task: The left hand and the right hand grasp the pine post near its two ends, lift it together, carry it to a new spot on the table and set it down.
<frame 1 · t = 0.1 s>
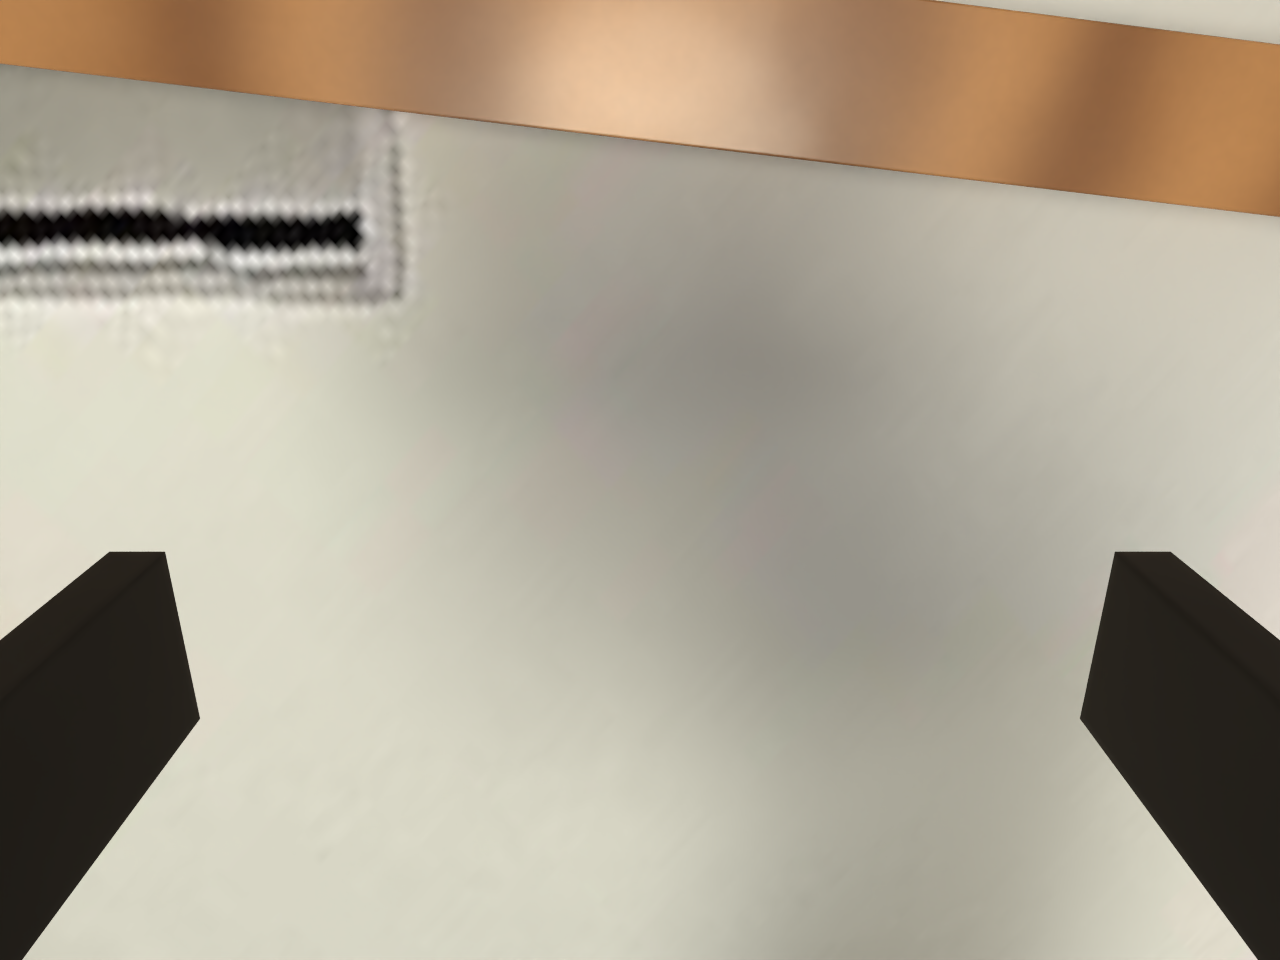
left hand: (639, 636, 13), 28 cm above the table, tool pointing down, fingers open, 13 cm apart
post: (511, 52, 36), on the table
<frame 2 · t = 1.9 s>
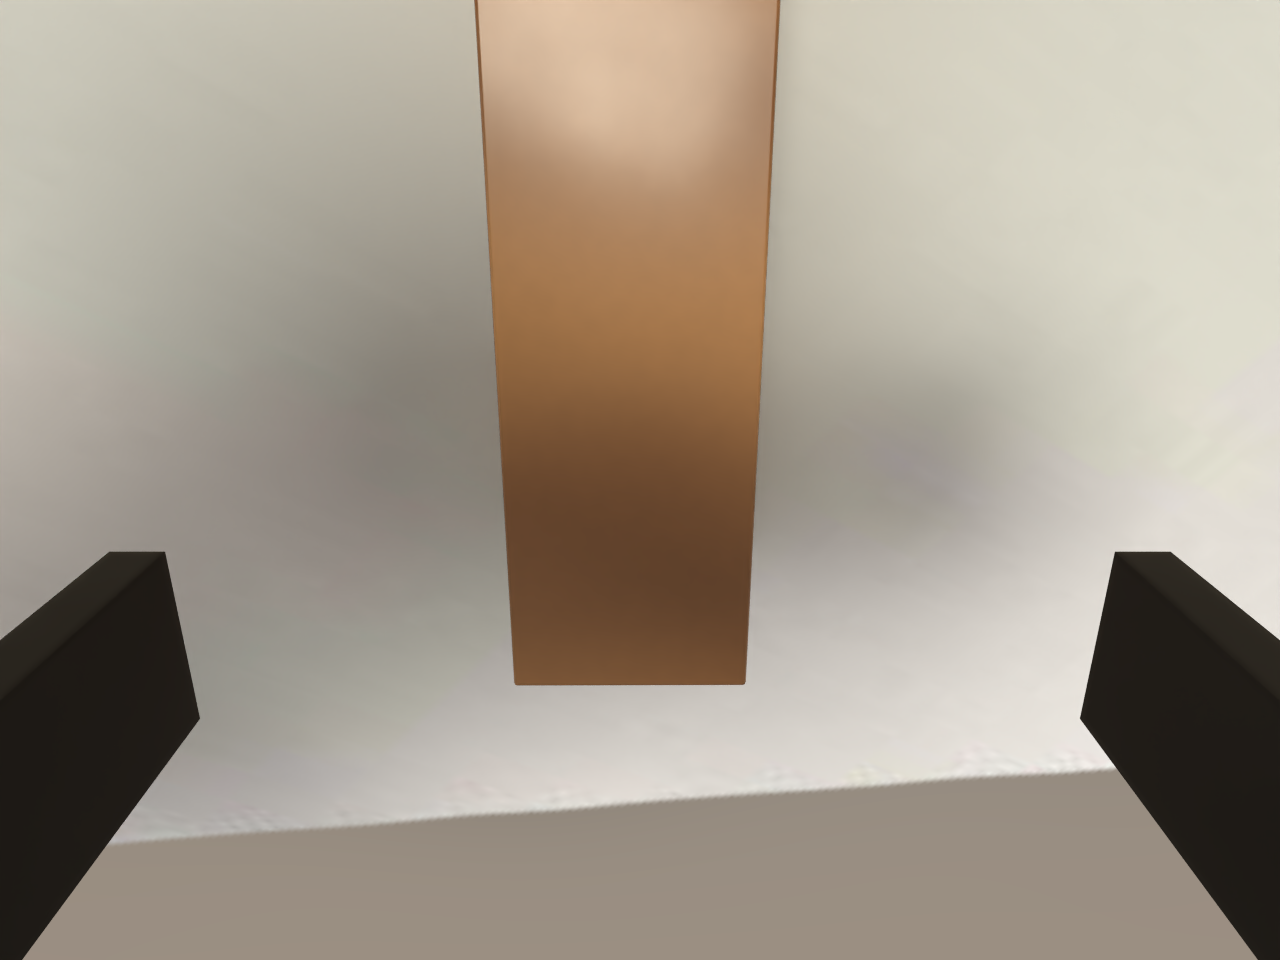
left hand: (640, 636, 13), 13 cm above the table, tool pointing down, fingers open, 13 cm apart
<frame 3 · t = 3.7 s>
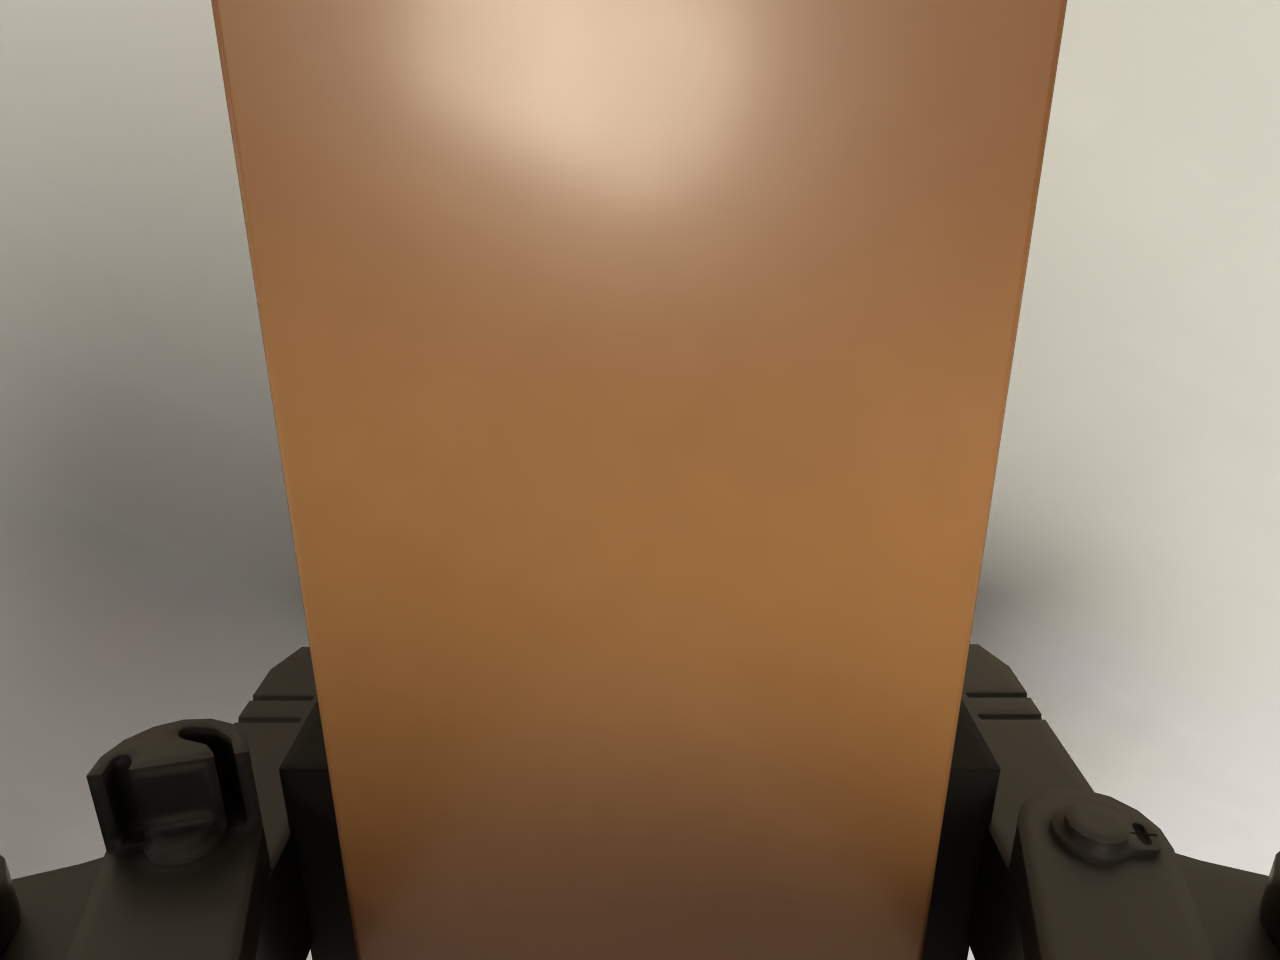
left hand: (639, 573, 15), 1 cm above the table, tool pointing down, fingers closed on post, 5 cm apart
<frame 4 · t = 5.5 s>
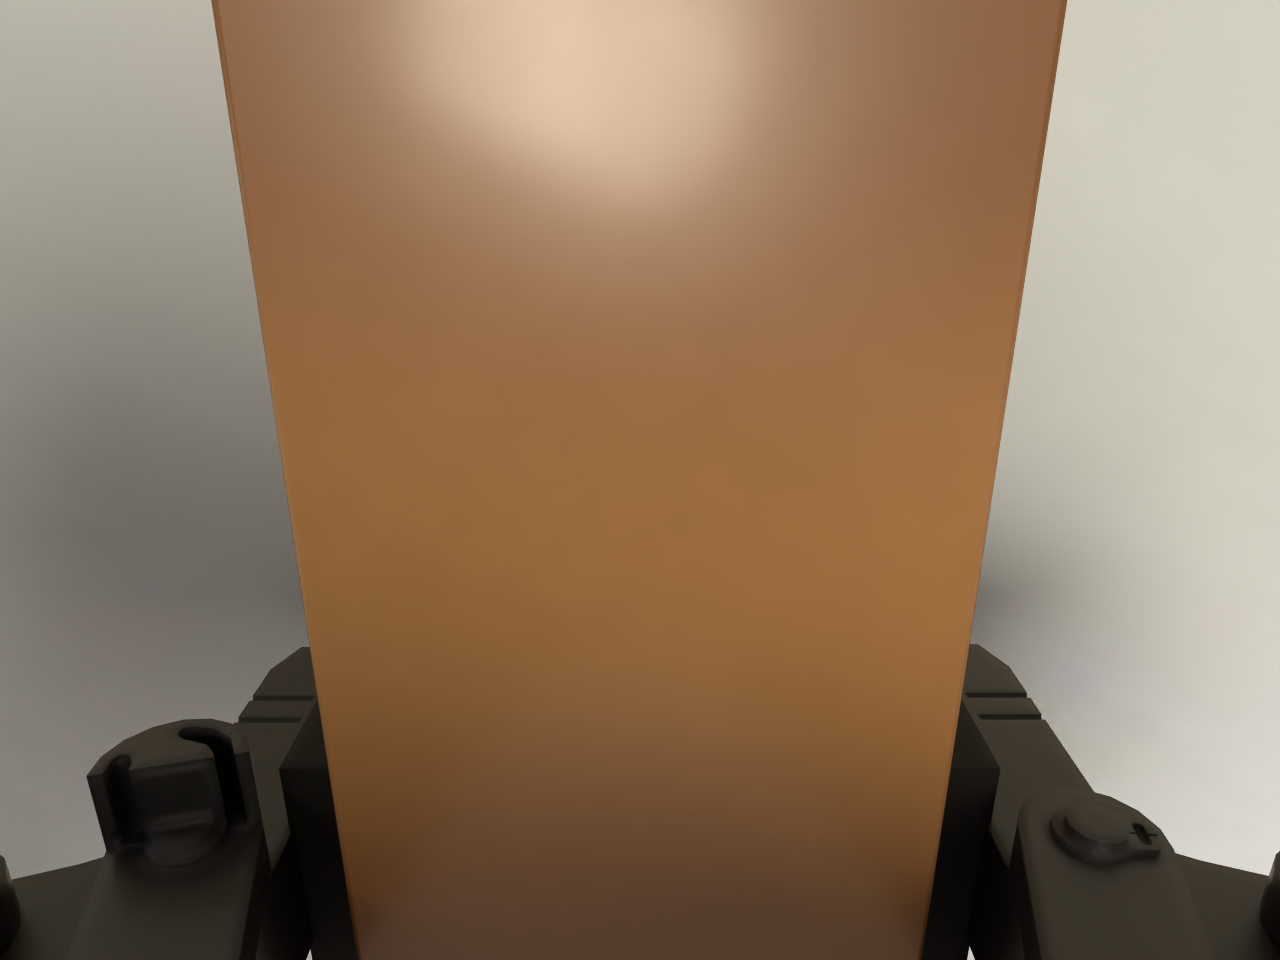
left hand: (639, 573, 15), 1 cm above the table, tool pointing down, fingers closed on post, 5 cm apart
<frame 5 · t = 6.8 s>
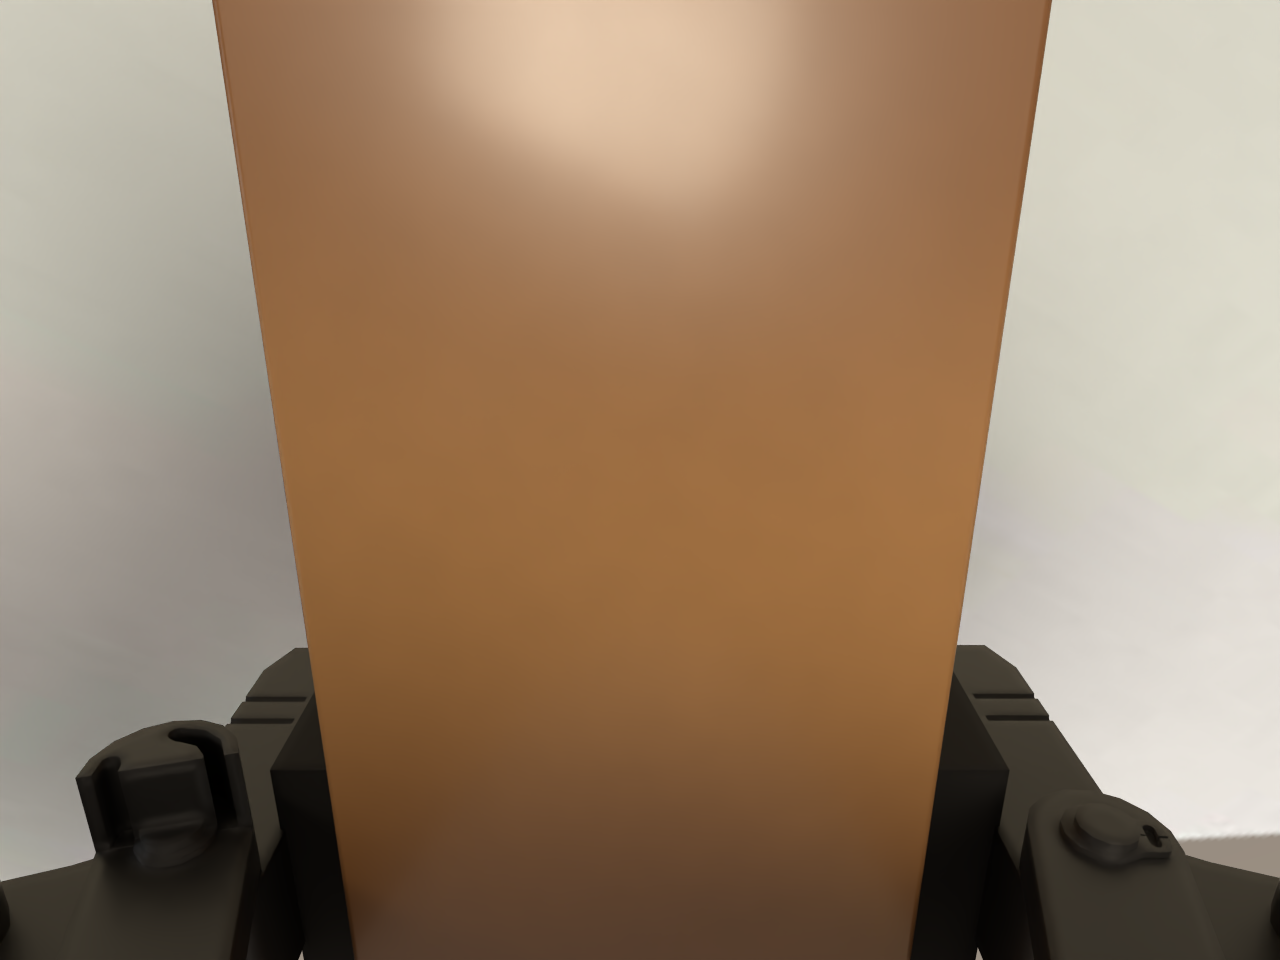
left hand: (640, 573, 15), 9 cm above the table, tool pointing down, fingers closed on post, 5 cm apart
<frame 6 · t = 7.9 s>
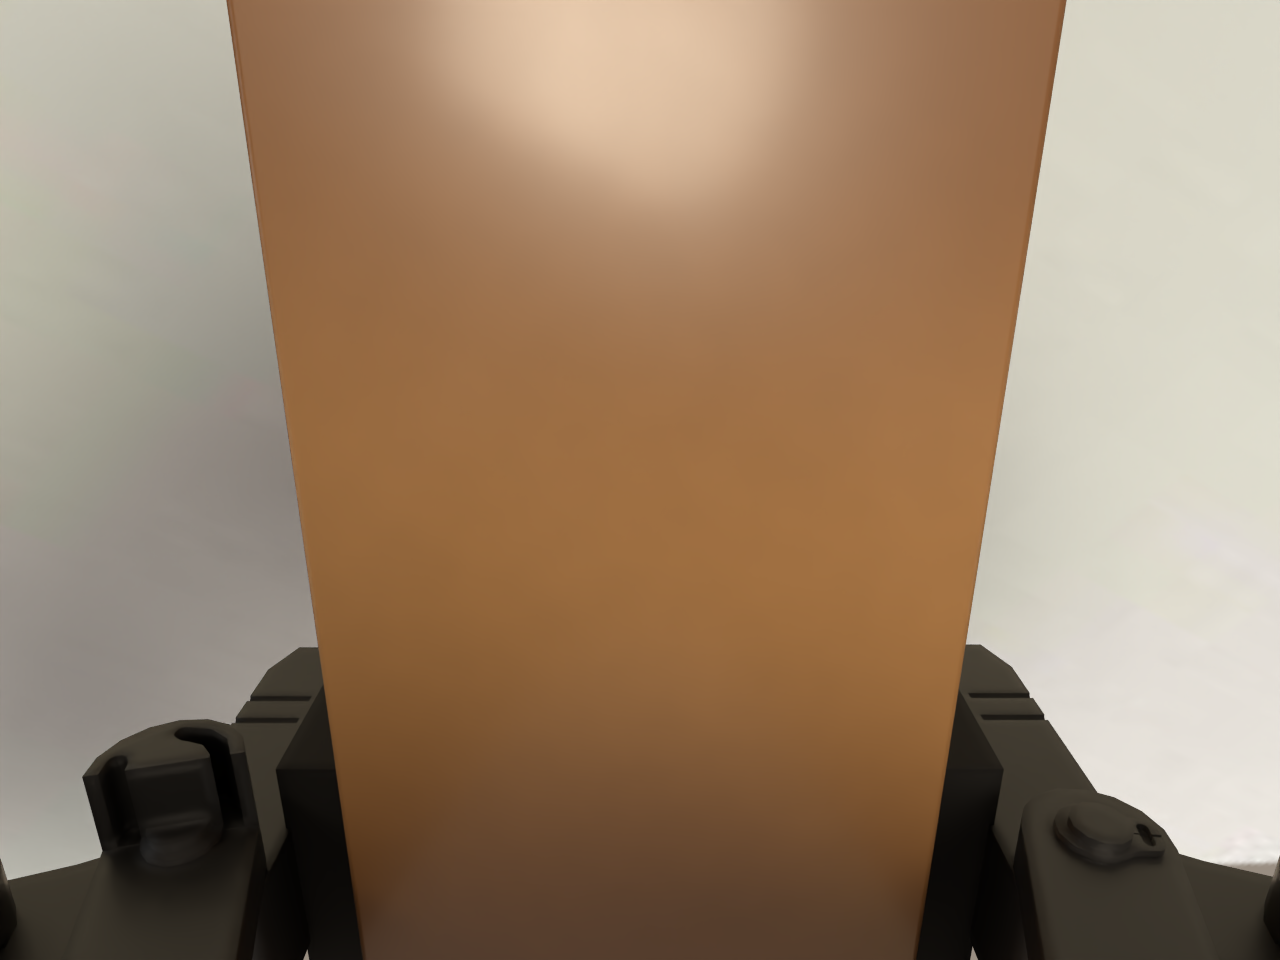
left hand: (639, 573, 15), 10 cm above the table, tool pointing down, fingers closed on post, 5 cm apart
when the left hand's fingers open (2 cm above the table, at t = 10.4 s): post drops 1 cm, on the table.
when the right hand's fingers open (4 cm above the table, at t = 10.6 s): post stays where it is, on the table.
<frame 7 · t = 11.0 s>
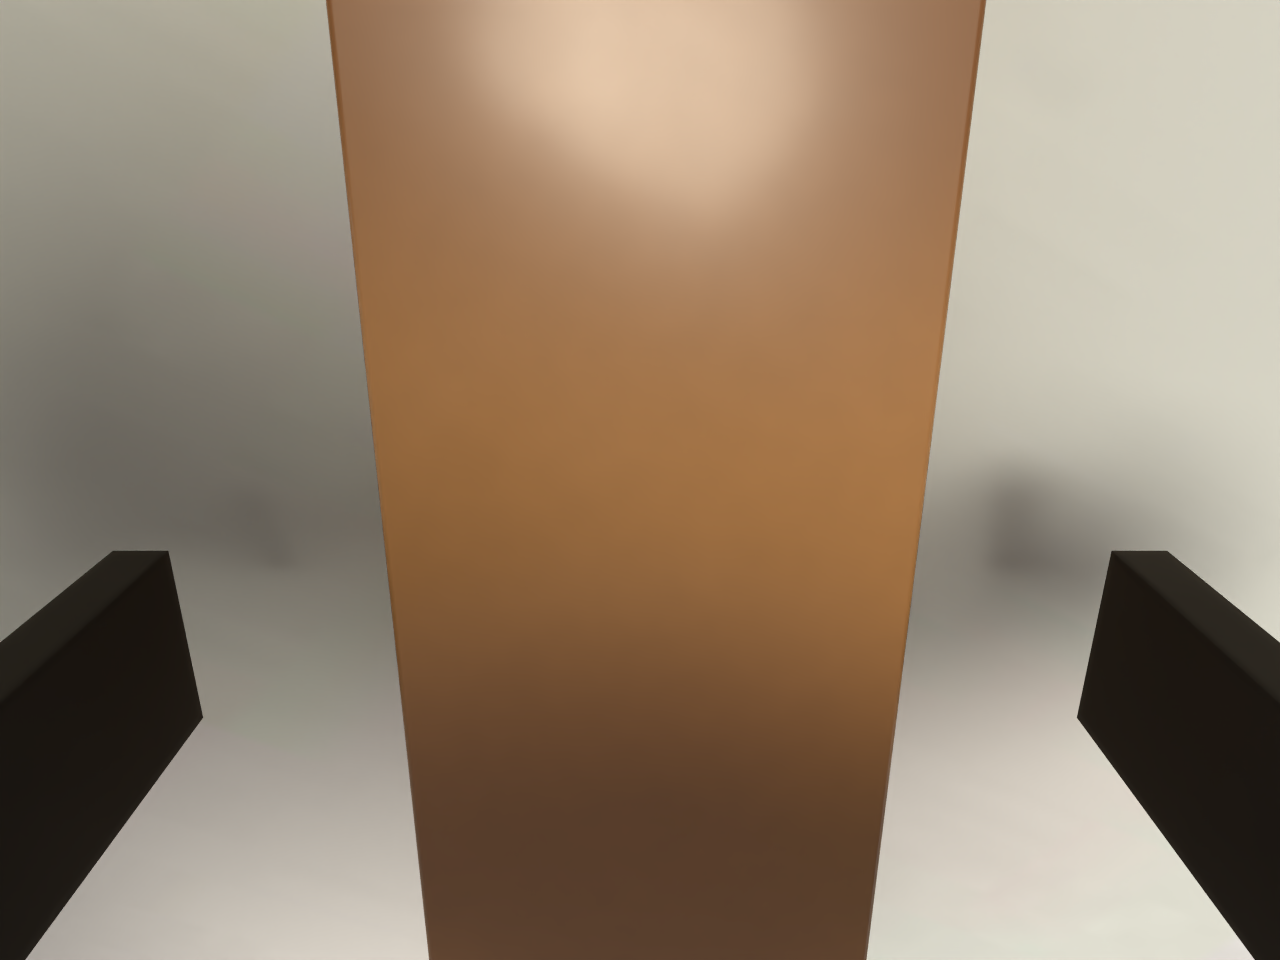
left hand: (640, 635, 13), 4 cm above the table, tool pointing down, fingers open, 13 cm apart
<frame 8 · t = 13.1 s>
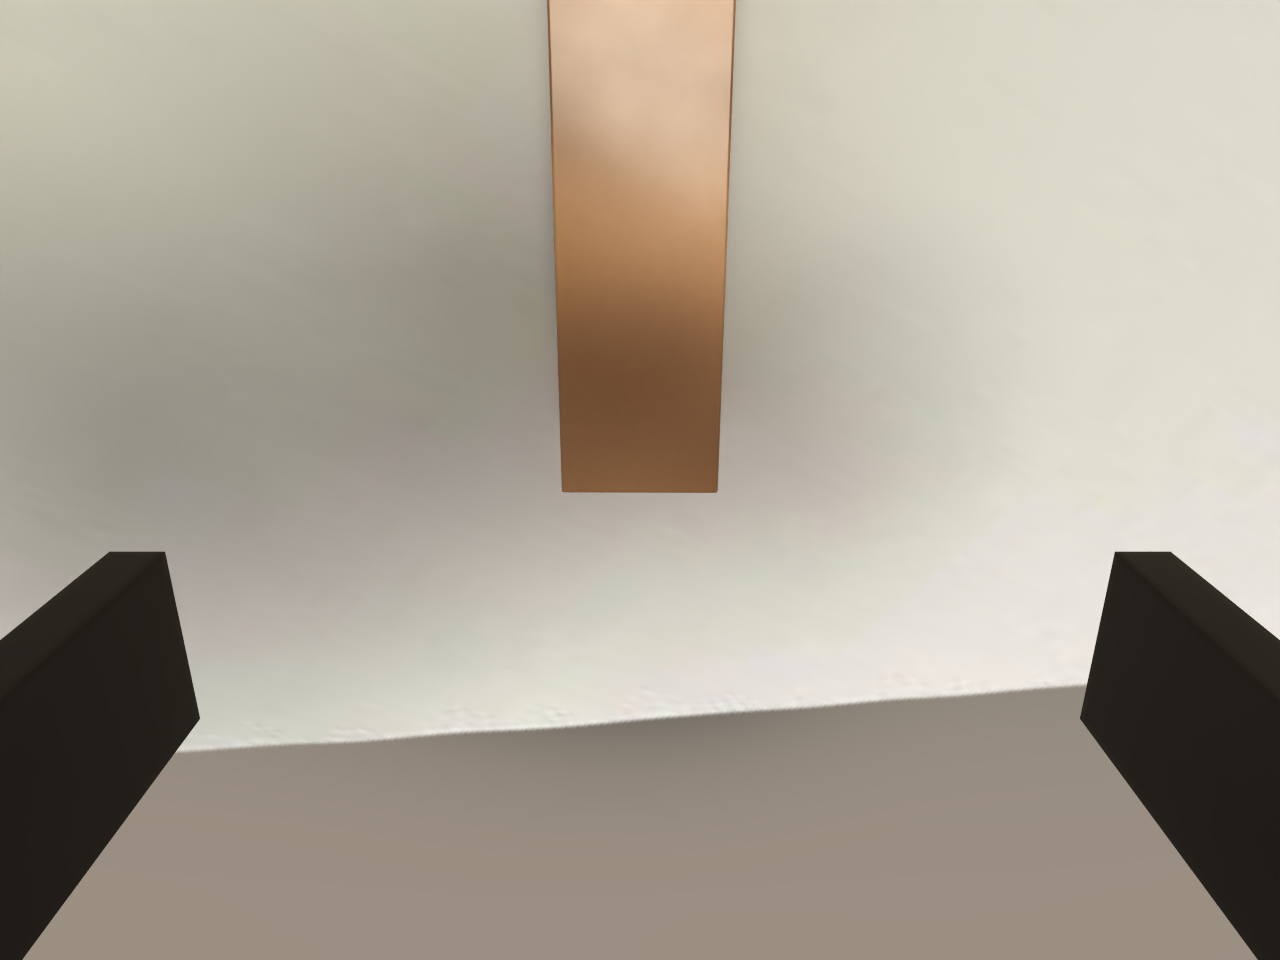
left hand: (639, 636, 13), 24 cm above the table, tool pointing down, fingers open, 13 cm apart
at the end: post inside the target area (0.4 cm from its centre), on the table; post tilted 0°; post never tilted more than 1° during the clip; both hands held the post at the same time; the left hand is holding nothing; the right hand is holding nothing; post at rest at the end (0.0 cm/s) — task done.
